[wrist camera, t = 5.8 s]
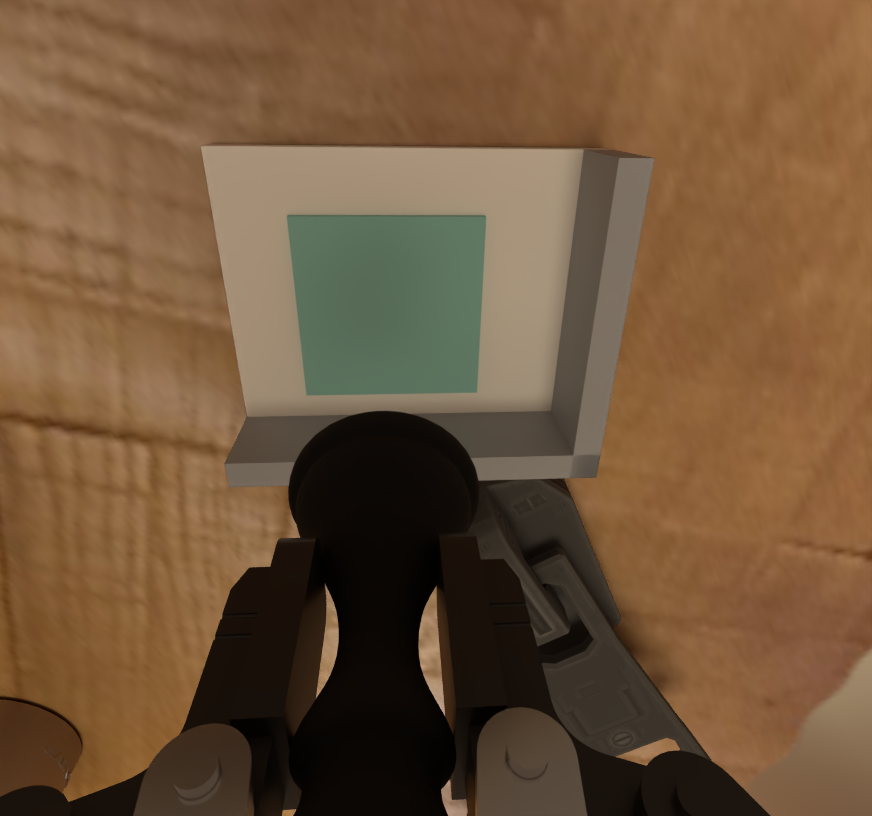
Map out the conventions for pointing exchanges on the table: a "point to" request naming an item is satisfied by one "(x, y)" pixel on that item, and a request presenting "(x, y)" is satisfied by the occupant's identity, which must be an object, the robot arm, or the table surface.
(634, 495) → the table surface
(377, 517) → the chess piece
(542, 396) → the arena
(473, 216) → the pad
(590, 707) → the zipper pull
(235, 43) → the table surface
